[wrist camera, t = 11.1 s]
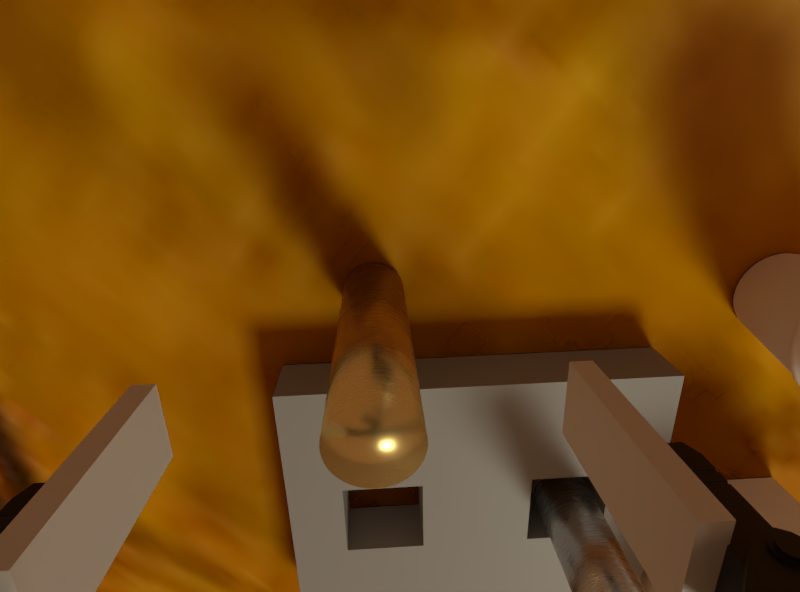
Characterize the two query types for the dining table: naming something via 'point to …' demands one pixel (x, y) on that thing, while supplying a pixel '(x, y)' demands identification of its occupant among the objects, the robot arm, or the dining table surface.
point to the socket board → (457, 474)
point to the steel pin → (583, 537)
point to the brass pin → (373, 386)
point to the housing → (761, 508)
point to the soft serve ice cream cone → (773, 307)
